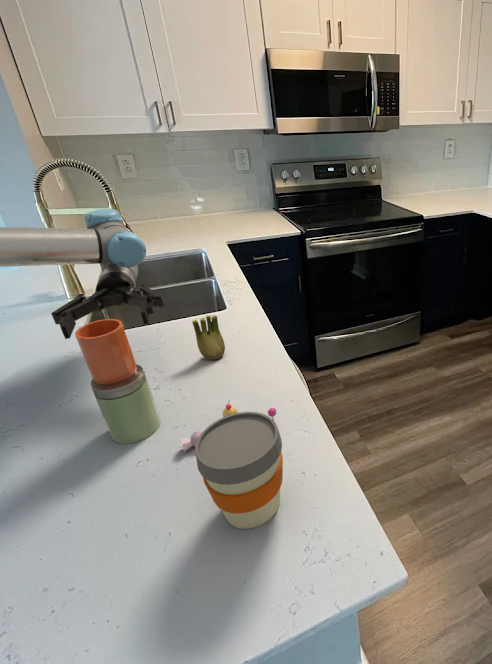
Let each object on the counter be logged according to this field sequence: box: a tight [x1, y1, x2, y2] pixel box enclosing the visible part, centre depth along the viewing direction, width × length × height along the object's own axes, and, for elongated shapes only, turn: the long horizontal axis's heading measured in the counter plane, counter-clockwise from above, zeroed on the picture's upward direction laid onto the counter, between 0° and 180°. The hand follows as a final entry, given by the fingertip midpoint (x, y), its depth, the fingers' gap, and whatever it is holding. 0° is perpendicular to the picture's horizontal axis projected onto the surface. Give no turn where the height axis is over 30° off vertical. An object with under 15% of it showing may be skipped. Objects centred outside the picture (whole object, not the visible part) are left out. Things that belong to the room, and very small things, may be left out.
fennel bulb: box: [191, 314, 226, 361], centre depth 108 cm, size 6×5×12 cm
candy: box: [180, 398, 277, 452], centre depth 84 cm, size 18×8×6 cm, turn 123°
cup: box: [74, 318, 137, 384], centre depth 79 cm, size 7×7×10 cm
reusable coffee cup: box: [194, 411, 284, 530], centre depth 67 cm, size 13×13×15 cm
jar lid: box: [90, 363, 147, 399], centre depth 81 cm, size 9×9×2 cm
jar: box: [93, 375, 161, 445], centre depth 84 cm, size 9×9×12 cm
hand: (105, 325), depth 82 cm, fingers open, 13 cm apart
